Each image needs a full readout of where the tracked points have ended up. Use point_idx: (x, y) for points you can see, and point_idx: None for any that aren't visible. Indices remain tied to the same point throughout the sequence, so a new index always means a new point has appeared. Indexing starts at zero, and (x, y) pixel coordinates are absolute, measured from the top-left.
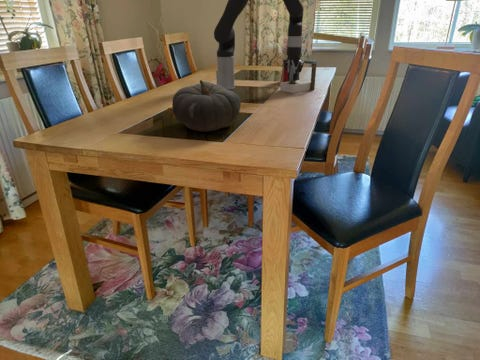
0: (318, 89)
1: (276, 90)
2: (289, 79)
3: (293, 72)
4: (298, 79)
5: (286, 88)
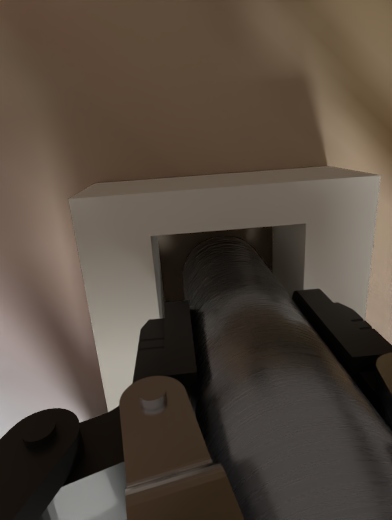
0: None
1: (358, 120)
2: (270, 282)
3: (210, 398)
4: None
5: (222, 178)
